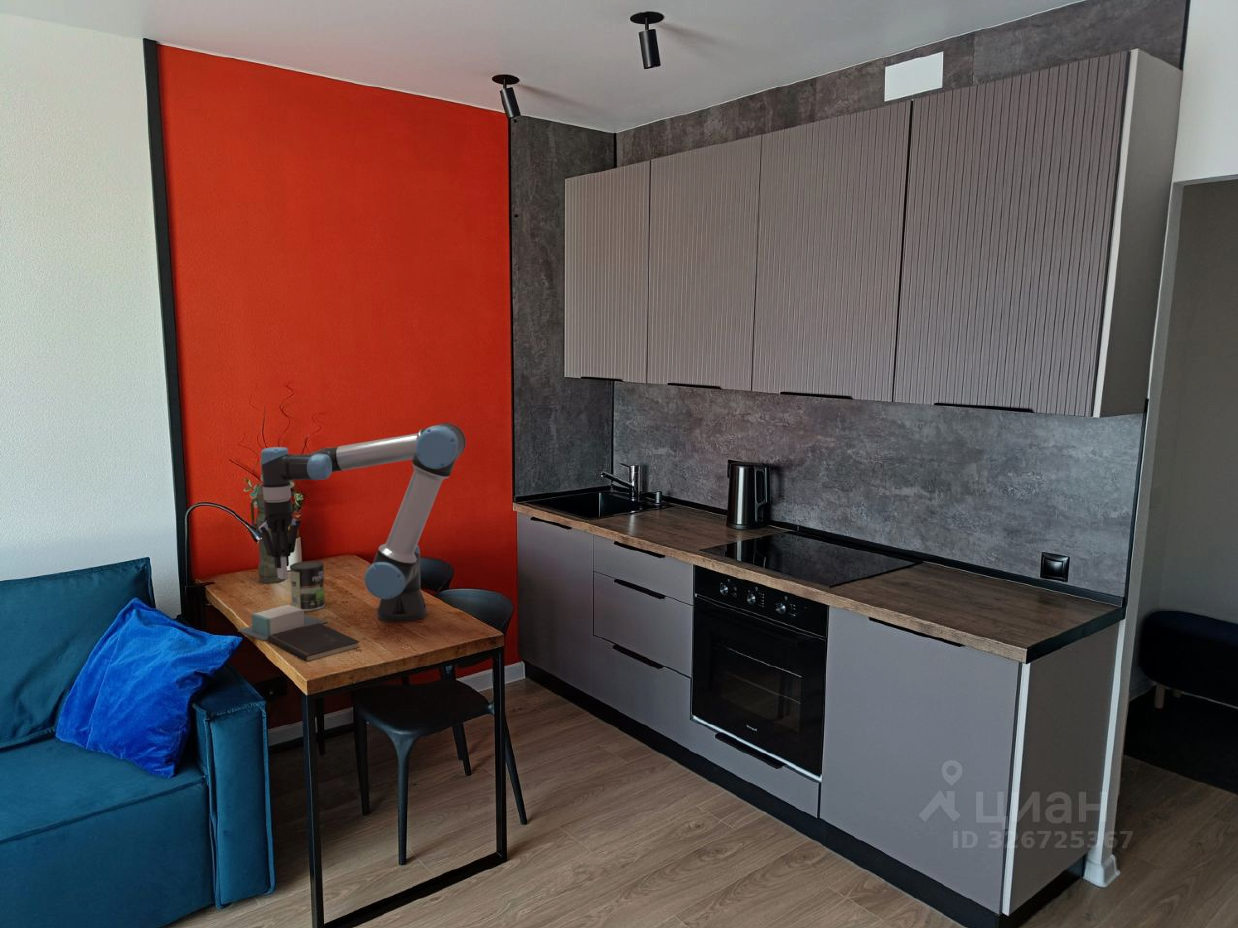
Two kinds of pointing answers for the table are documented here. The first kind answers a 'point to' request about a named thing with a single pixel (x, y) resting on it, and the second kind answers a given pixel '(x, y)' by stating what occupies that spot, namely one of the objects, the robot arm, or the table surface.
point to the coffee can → (307, 585)
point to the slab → (277, 620)
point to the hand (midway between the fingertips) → (282, 577)
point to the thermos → (266, 562)
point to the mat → (307, 621)
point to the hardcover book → (313, 641)
